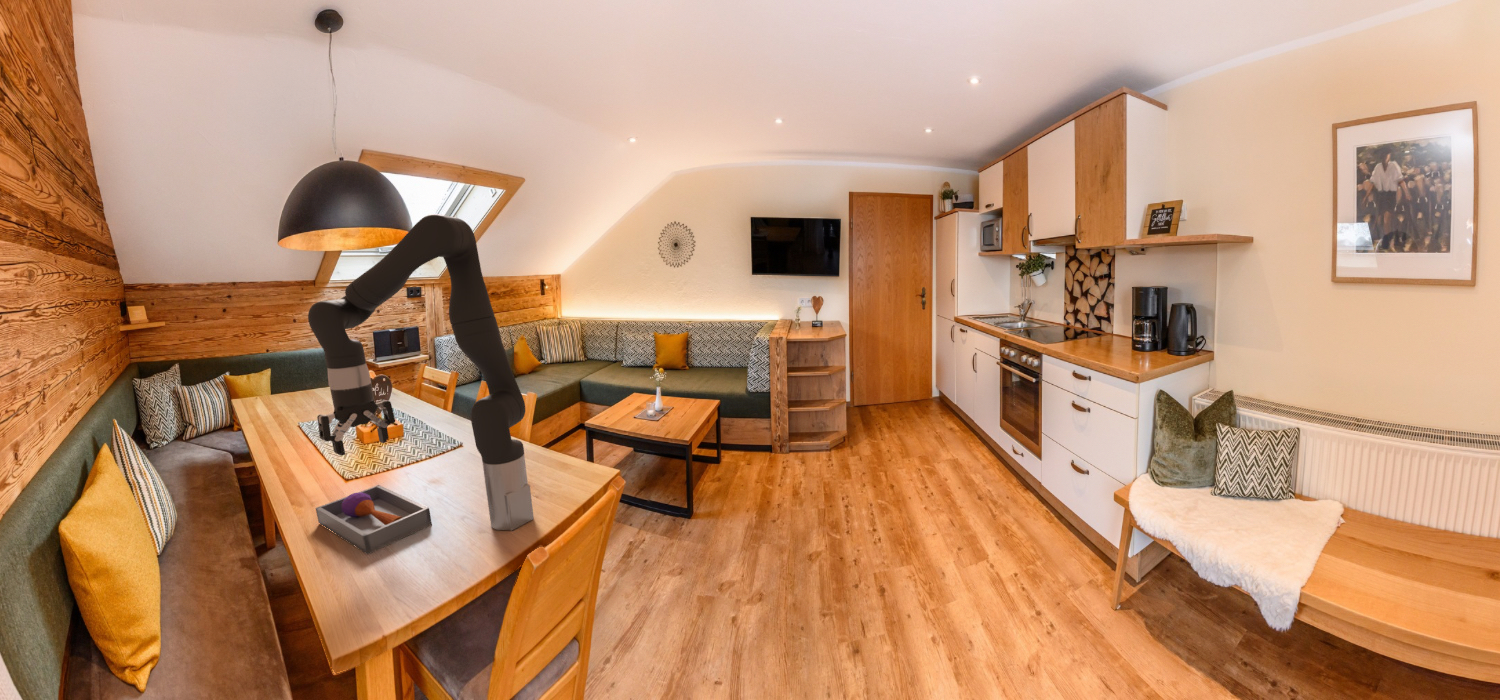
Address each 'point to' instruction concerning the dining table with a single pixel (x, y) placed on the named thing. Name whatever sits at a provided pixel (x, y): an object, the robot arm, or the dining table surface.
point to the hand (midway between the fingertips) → (363, 448)
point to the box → (375, 520)
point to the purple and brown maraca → (365, 508)
